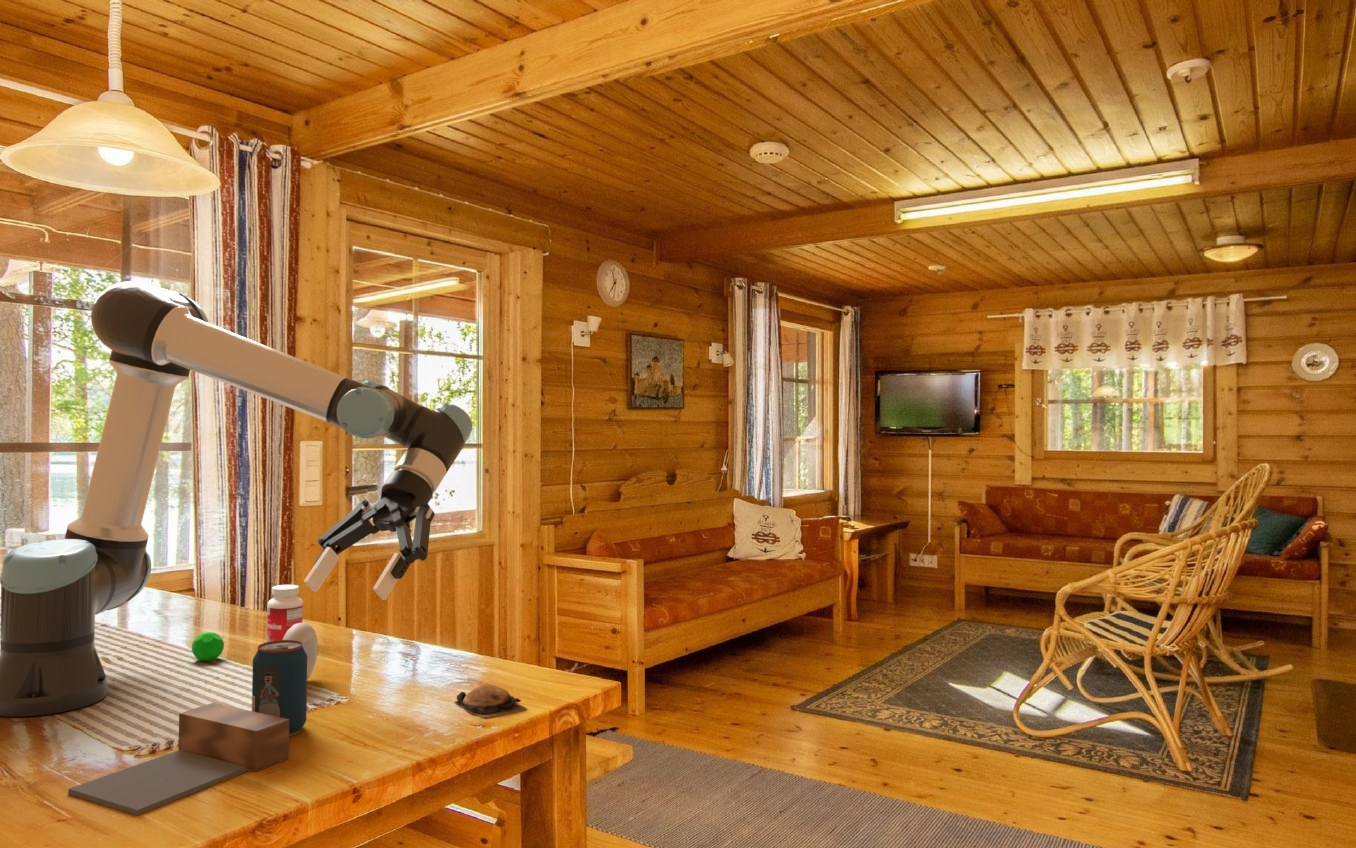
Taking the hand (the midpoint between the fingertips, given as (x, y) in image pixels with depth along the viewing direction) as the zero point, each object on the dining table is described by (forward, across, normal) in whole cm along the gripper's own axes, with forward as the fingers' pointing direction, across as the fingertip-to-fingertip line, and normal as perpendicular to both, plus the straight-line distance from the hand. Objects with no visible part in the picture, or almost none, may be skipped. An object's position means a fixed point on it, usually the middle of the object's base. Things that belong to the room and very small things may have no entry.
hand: (343, 590), depth 137 cm
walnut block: (+27, -1, +2) cm, 27 cm away
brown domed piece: (+5, -17, -22) cm, 28 cm away
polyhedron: (+6, +41, -19) cm, 45 cm away
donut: (+8, +16, -17) cm, 24 cm away
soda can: (+20, +1, -5) cm, 21 cm away
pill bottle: (-4, +38, -29) cm, 48 cm away
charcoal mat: (+34, -1, +9) cm, 35 cm away
